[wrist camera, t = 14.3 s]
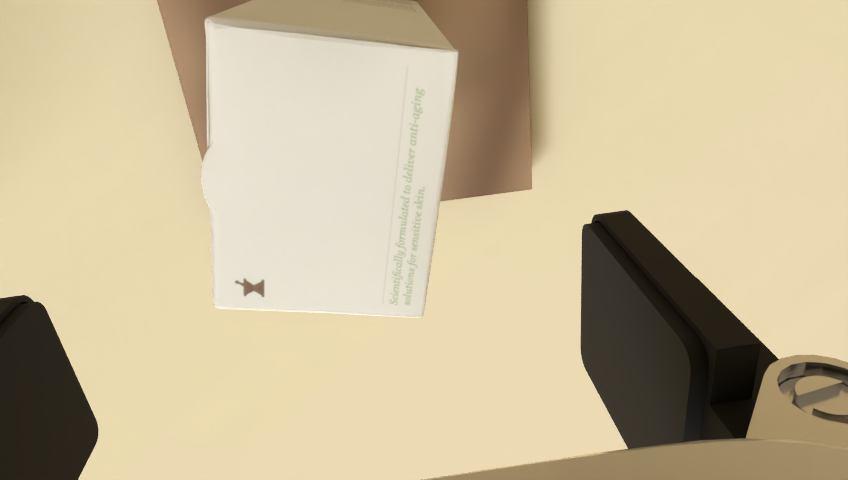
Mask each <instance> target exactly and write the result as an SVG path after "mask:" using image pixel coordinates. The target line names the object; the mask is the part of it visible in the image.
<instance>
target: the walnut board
mask: <svg viewBox="0 0 848 480" xmlns="http://www.w3.org/2000/svg"><path fill="white" fill-rule="evenodd" d="M249 1H251V0H157V2H158V5H159V9H160V12H161V16H162V19H163V23H164V27H165V30H166V34H167V37H168V41H169V44H170V48H171V51H172V55H173V58H174V62H175V65H176V69H177V72H178V76H179V80H180V83H181V87H182V90H183V94H184V97H185V101H186V104H187V108H188V111H189V115H190V118H191V122H192V126H193V129H194V133H195V136H196V140H197V143H198V147H199V150H200V154H201V157H202V161H203V159H204V156H205V154H206V152H207V103H206V33H205V25H204V23H205V19H206V18H207V17H209V16H212V15H215V14H217V13H220V12H223V11H225V10H228V9H230V8H233V7H236V6H238V5H241V4H244V3H246V2H249ZM412 1H416V2H418V3H419V5H420V6H421V7H422V8H423V10H424V11H425V12H426V14H427V15H428V16H429V18H430V19H431V20H432V21H433V22H434V24H435V25H436V26H437V28H438V29H439V30H440V31H441V33H442V34H443V35H444V36H445V37H446V39H447V40H448V41H449V42H450V44H451V45H452V46H453V48H454V49H457V50H458V52H459V54H458V65H457V76H456V86H455V94H454V102H453V110H452V118H451V125H450V133H449V140H448V148H447V155H446V162H445V169H444V177H443V184H442V191H441V198H440V201H446V200H454V199H461V198H469V197H476V196H484V195H492V194H499V193H507V192H514V191H522V190H529V189H532V170H531V133H530V96H529V59H528V22H527V0H412Z"/></svg>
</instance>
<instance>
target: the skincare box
mask: <svg viewBox="0 0 848 480" xmlns="http://www.w3.org/2000/svg"><path fill="white" fill-rule="evenodd" d="M204 25H205V33H206V103H207V152H206V154H205V156H204V159H203V163H202V167H201V183H202V189H203V194H204V196H205V199H206V201H207V203H208V205H209V211H210V243H211V273H212V291H213V298H214V305H215V306H216V307H217V308H218V309H242V310H265V311H291V312H318V313H341V314H357V315H373V316H392V317H413V318H422V317H423V314H424V309H425V302H426V295H427V288H428V282H429V275H430V268H431V261H432V254H433V247H434V240H435V234H436V226H437V219H438V212H439V205H440V198H441V191H442V184H443V177H444V169H445V162H446V155H447V148H448V140H449V133H450V125H451V118H452V110H453V102H454V94H455V86H456V76H457V65H458V54H459V52H458V50H457V49H454V48H453V46H452V45H451V44H450V42H449V41H448V40H447V39H446V37H445V36H444V35H443V34H442V33H441V31H440V30H439V29H438V28H437V26H436V25H435V24H434V22H433V21H432V20H431V19H430V18H429V16H428V15H427V14H426V12H425V11H424V10H423V8H422V7H421V6H420V5H419V3H418V2H416V1H412V0H251V1H249V2H246V3H244V4H241V5H238V6H236V7H233V8H230V9H228V10H225V11H223V12H220V13H217V14H215V15H212V16H209V17H207V18H206V19H205V23H204Z"/></svg>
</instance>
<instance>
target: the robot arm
mask: <svg viewBox="0 0 848 480" xmlns="http://www.w3.org/2000/svg"><path fill="white" fill-rule="evenodd" d="M581 355H582V360H583V364H584V367H585V369H586V371H587V373H588V375H589V376H590V378H591V380H592V382H593V384H594V386H595V388H596V390H597V391H598V393H599V395H600V397H601V399H602V401H603V403H604V404H605V406H606V408H607V410H608V412H609V414H610V416H611V418H612V419H613V421H614V423H615V425H616V427H617V429H618V431H619V432H620V434H621V436H622V438H623V440H624V442H625V444H626V445H627V447H628V449H624V450H616V451H608V452H601V453H594V454H588V455H581V456H575V457H568V458H561V459H555V460H548V461H542V462H535V463H528V464H522V465H515V466H509V467H502V468H495V469H489V470H482V471H476V472H469V473H462V474H456V475H449V476H443V477H436V478H429V479H423V480H848V362H845V361H841V360H838V359H835V358H830V357H823V356H817V355H795V356H790V357H786V358H781V359H778V358H777V357H776V356H775V355H774V354H773V353H772V352H771V351H770V350H769V349H768V348H767V347H766V346H765V345H764V344H763V343H762V342H761V341H760V340H759V339H758V338H757V337H756V336H755V335H754V334H753V333H752V332H751V331H750V330H749V329H748V328H747V327H746V326H745V325H744V324H743V323H742V322H741V321H740V320H739V319H738V318H737V317H736V316H735V315H734V314H733V313H732V312H731V311H730V310H729V309H728V308H727V307H726V306H725V305H724V304H723V303H722V302H721V301H720V300H719V299H718V298H717V297H716V296H715V295H714V294H713V293H712V292H711V291H710V290H709V289H708V288H707V287H706V286H705V285H704V284H703V283H702V282H701V281H700V280H699V279H697V278H696V277H695V276H694V275H693V274H692V273H691V272H690V271H689V270H688V269H687V268H686V267H685V266H684V265H683V264H682V263H681V262H680V261H679V260H678V259H677V258H676V257H675V256H674V255H673V254H672V253H671V252H670V251H669V250H668V249H667V248H666V247H665V246H664V245H663V244H662V243H661V242H660V241H659V240H658V239H657V238H656V237H655V236H654V235H653V234H652V233H651V232H650V231H649V230H648V229H646V228H645V227H644V226H643V225H642V224H641V223H640V222H639V221H638V220H637V219H636V218H635V217H634V216H633V215H632V214H631V213H630V212H629V211H627V210H626V211H619V212H611V213H604V214H597V215H594V217H593V219H592V223H591V224H585V225H584V226H583V229H582V284H581ZM97 439H98V424H97V421H96V419H95V416H94V414H93V412H92V410H91V408H90V405H89V403H88V401H87V399H86V397H85V394H84V392H83V390H82V388H81V386H80V383H79V381H78V379H77V377H76V375H75V372H74V370H73V368H72V366H71V364H70V361H69V359H68V357H67V355H66V353H65V350H64V348H63V346H62V344H61V342H60V339H59V337H58V335H57V333H56V331H55V328H54V326H53V324H52V322H51V319H50V317H49V315H48V313H47V311H46V309H45V307H44V306H43V305H42V304H41V303H39V302H34V301H33V300H32V299H31V298H29V297H28V296H25V295H22V296H14V297H7V298H0V480H78V478H79V476H80V474H81V472H82V470H83V468H84V466H85V464H86V462H87V460H88V458H89V457H90V455H91V453H92V451H93V449H94V447H95V445H96V442H97Z"/></svg>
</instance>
